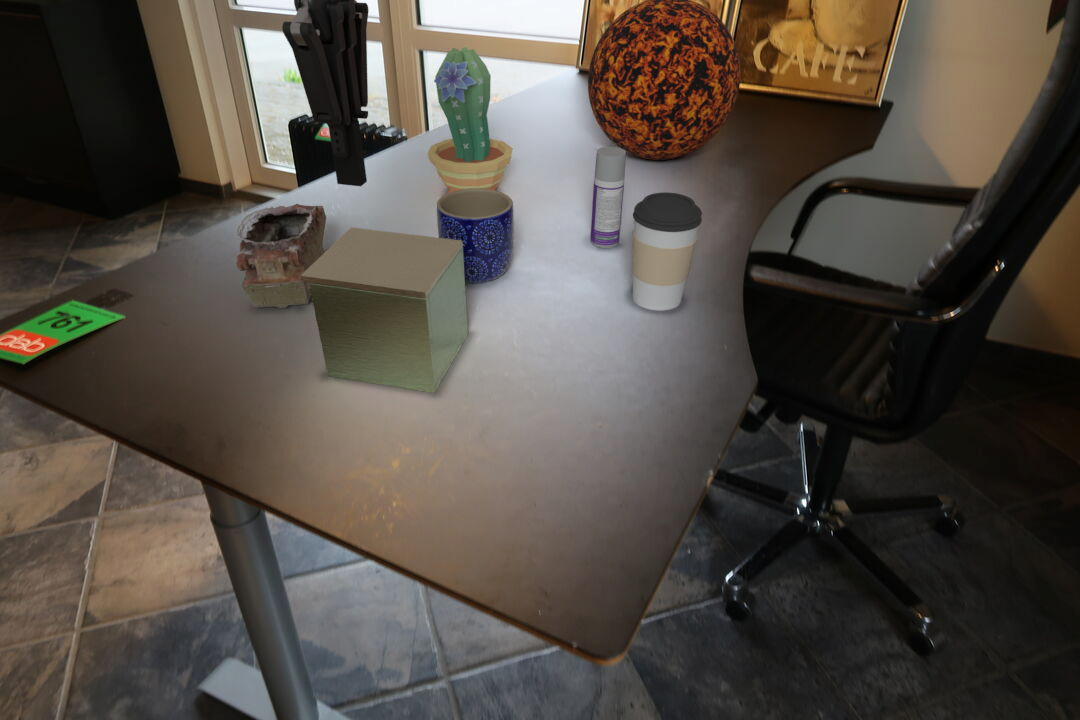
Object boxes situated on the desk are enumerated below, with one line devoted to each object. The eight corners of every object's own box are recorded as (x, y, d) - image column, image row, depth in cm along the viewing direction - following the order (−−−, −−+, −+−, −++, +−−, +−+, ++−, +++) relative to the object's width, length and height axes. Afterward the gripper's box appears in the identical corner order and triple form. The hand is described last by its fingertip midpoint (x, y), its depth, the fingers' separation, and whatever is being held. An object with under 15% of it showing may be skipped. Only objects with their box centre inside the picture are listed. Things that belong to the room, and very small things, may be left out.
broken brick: (211, 312, 96) (191, 248, 90) (265, 246, 112) (251, 188, 106) (306, 316, 95) (292, 251, 90) (347, 249, 111) (337, 191, 106)
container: (594, 233, 117) (600, 144, 108) (622, 238, 116) (630, 148, 107) (586, 245, 114) (592, 154, 105) (614, 250, 112) (622, 158, 104)
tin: (327, 376, 84) (308, 283, 77) (371, 321, 94) (358, 234, 87) (434, 393, 82) (425, 299, 75) (467, 335, 92) (462, 246, 85)
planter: (501, 251, 112) (500, 183, 105) (523, 283, 103) (523, 212, 97) (434, 261, 108) (428, 192, 102) (451, 295, 100) (446, 223, 94)
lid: (301, 281, 77) (300, 275, 77) (352, 233, 87) (351, 227, 87) (425, 298, 75) (425, 292, 74) (462, 246, 84) (462, 240, 84)
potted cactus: (414, 191, 131) (400, 47, 116) (479, 171, 139) (474, 35, 125) (464, 217, 122) (456, 65, 107) (531, 194, 130) (531, 50, 116)
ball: (650, 124, 165) (665, -19, 148) (755, 160, 147) (786, 0, 129) (555, 151, 149) (559, -6, 132) (659, 194, 131) (681, 18, 114)
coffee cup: (617, 285, 103) (626, 187, 94) (676, 280, 105) (690, 184, 96) (635, 317, 96) (646, 215, 87) (698, 312, 97) (715, 211, 89)
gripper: (319, -69, 56) (358, 209, 70) (384, -79, 66) (407, 165, 80) (234, -72, 57) (289, 202, 71) (311, -81, 68) (346, 159, 81)
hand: (352, 182), depth 75 cm, fingers closed
